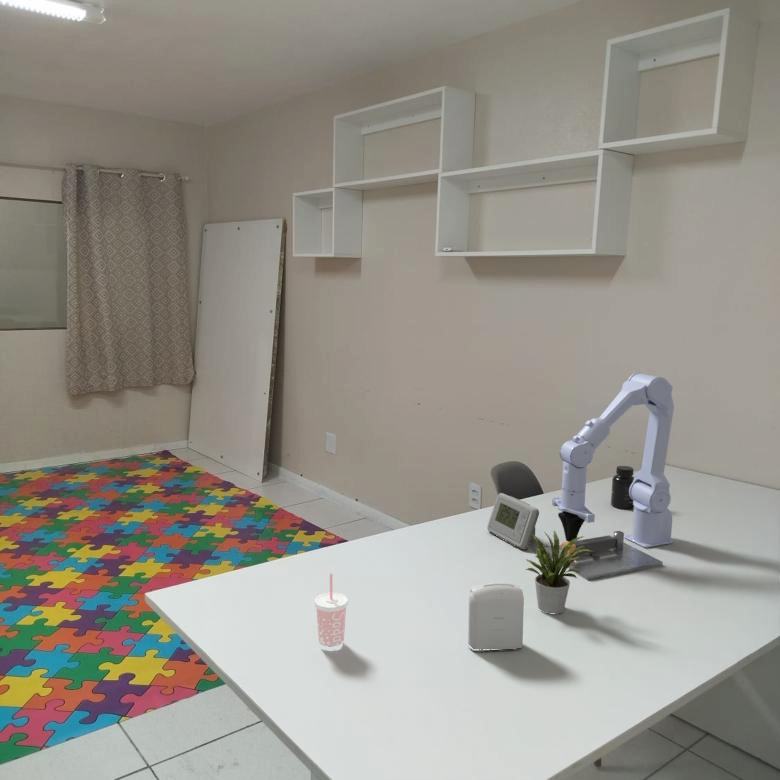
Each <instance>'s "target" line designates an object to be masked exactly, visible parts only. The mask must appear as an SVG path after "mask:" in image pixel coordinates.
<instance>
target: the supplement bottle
mask: <svg viewBox="0 0 780 780" xmlns="http://www.w3.org/2000/svg"><path fill="white" fill-rule="evenodd" d="M615 473H616V474H615V475H613V477H612V481H611V497H610V504H611V505H610V506H612V507H613V508H615V509H618V510H632V509H634V505H633V500H632V499H631V497H630V495H629V488H630V486H631V484H632V483H633V480H634V475H635V473H634V468H633V467H631V466H629V465H628V466H627V465H618V466H617V467H616V472H615Z"/></svg>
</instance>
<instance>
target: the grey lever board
mask: <svg viewBox="0 0 780 780" xmlns="http://www.w3.org/2000/svg"><path fill="white" fill-rule="evenodd" d="M613 537H614V538H616V542H615V548H613V549H608V550H602V551H597V552H591V553H585V554H580V555H575V556H572V557H571V559H573V558H575V557H579V558H577V559H575V560H574V561H573V562H572V563H571V564H570V566H569V567H568V568H569V569H568V568H567V569H568V570H570V569H573V568H577V569H579V570H580V574H579V573H578V572H574V574H577V575H578V576H580V577H581V578H583V579H584V580H586V581H593V580H597V579H602V578H607V577H608V578H609V577H613V576H619V575H623V574H627V573H633V572H639V571H643V570H648V569H649V570H650V569H653V568H658V567H662V566H663V565H664V564H663V561H662V560H660V559H658V558H656V557H654V556H652V555H650V554H647V553H646V552H644V551H642V550H640V549H638V548H636V547H634V546H632V545H631V544H627V543H626V542H624V539H625V532H624V531H621V530H615V531H613ZM545 550H548V552H549V557H551V558H552V549H551V546H547V547H545ZM561 552H562V544H559V558H560V555H561ZM580 556H581V557H580ZM565 557H567V556H565ZM565 557H564V558H565ZM567 559H568V558H567ZM571 559H570V560H571ZM552 560H553V558H552Z"/></svg>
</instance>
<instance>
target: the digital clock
mask: <svg viewBox="0 0 780 780" xmlns="http://www.w3.org/2000/svg"><path fill="white" fill-rule="evenodd" d="M539 515H540V511H539V509H538V508H536V507H534V506H532V505H530V504H529V503H527V502H525V501H523V500H521V499H518V498H516V497H514V496H512V495H508V494H505V493H503V492H500V493H499V494H497V497H496V499H495V502H494V505H493V508H492V512H491V514H490V517H489V519H488V522H487V526H486V529H487V531H488V532H489V533H491V534H493V535H494V536H495V535H497V536H498V537H497V536H496V537H497V538H499V537H500V538H502V539H504V540H506V541H507V542H506V541H505V542H506V543H508V542H509V543H508V544H510V543H511V544H513V545H515V546H517V548H519V549H521V550H527V549H528V548H529V547H530V544H529V543H531V544H534V543H535V542H536V540H535V539H534V537H533V536H532V534H533V535H535V536H536V525H537V521H538V518H539V517H540V516H539ZM500 538H499V539H500ZM502 539H501V540H502ZM504 540H503V541H504ZM511 544H510V545H511ZM513 545H512V546H513ZM524 545H526V546H524ZM515 546H514V547H515ZM527 546H528V547H527Z"/></svg>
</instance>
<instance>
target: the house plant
mask: <svg viewBox="0 0 780 780" xmlns="http://www.w3.org/2000/svg"><path fill="white" fill-rule="evenodd" d="M543 533H544V534H545V536H546V537H547V538H548V539H547V540H549V543H550V547H551V549H552V558H553V559H552V558H551V557H549V552H548V550H545V548H546V547H545V545H544V544H543V543H542V541H541V540H540V539H539V538H538V537H537V536H536V534H535V535H533V534H532V536H533V537H534V539H535V542H536V545H537V548H536V555H534V557H535V558H537V559H538V563H539V564H538V563H536V562H534V561H533V560H530V559H525V560H526V562H529V563H530V564H531V565H533V567H535V568H536V569H538V570H539V571H538V570H536V569H535V568H533V567H527V568H525V571H530V572H533V573H535V574H537V575H536V576H535V578H534V582H535V591H536V600H537V609H538V608H539V609H540V610H542V611H544V612H547V613H555V614H557V615H559V614H558V613H561V612H562V613H564V609H565V606H566V602H567V597H568V593H569V589H570V584H571V582H570V580H569V577H572V578H575V579H578V577H577V576H576V574H575V572H578V573H579V574H580V570H579V569H577V568H573V569H568V567H569V566H570V564H571V563H572V562H573V561H574V560H575V559H577V558H579V557H575V558H573V559H571V557H572V556H573V555H574V554H576V553H578V552H581V551H591V550H587V549H582V550H579V549H580V548H582V547H585V546H581V547H578V548H576V549H575V550H574V551H573V552H572V553H571V554H570V556H567V557H565V556H566V555H567V554H568V553H569V552H571V551H569V552H568V550H569V549H570V547H571V546H572V545H573V544H574V543H575V542H576V541H579V540H581V539H582V538H584V537H585V536H577V538H575V539H573V540H572V541H571V542H569V543H568V544H567V546H566V547H564V548H563V550H562V552H561V555H560V558H559V545H560V539H559V537H558V535H557V532H556V531H555V530H553V540H552V537H551V536H550V535H548V534H547V533H546V532H545V531H543ZM524 546H526V545H524ZM527 547H528V548H529V549H530V550H532V548H531V547H530V546H527ZM578 550H579V551H578ZM564 557H565V558H564ZM580 557H581V556H580ZM567 558H568V559H567ZM570 559H571V560H570ZM569 572H571V573H569ZM572 572H573V573H572ZM567 577H568V578H567ZM539 609H538V610H539ZM540 610H539V611H540ZM562 613H561V614H562Z"/></svg>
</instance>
